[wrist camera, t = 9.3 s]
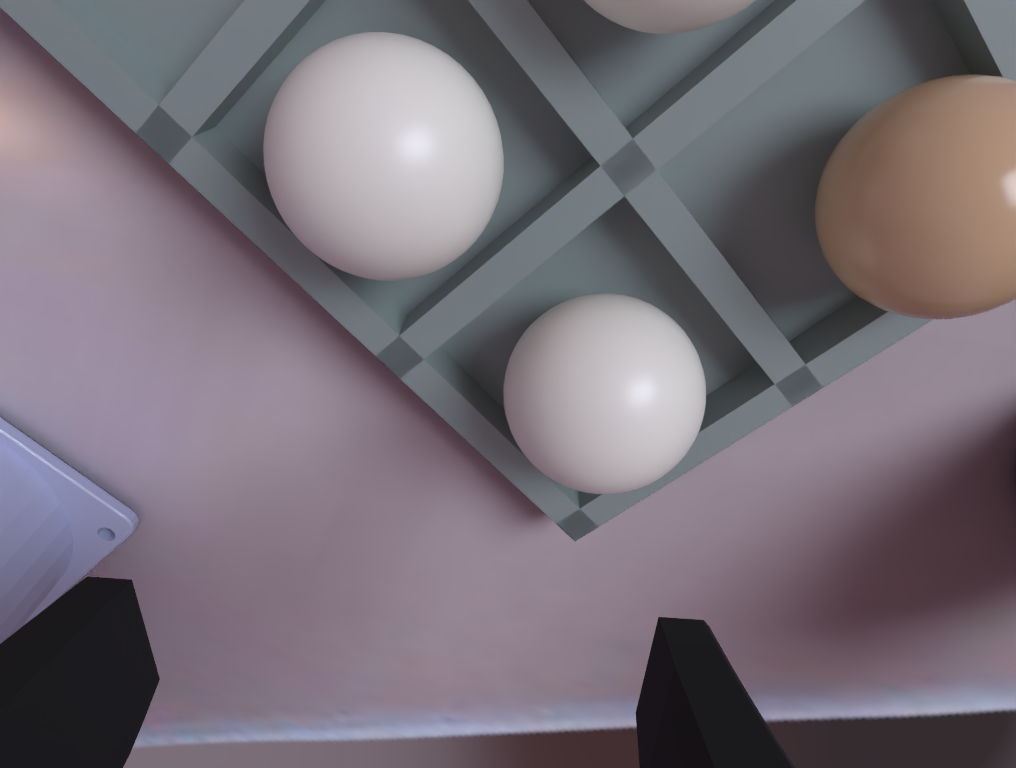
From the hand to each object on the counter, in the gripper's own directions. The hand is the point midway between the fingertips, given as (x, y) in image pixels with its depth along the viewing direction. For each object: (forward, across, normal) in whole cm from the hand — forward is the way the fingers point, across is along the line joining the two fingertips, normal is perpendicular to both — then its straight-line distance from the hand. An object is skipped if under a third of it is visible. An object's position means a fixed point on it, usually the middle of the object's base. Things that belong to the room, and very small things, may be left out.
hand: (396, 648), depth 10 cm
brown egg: (+9, -8, -5) cm, 13 cm away
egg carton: (+9, -1, -7) cm, 12 cm away
